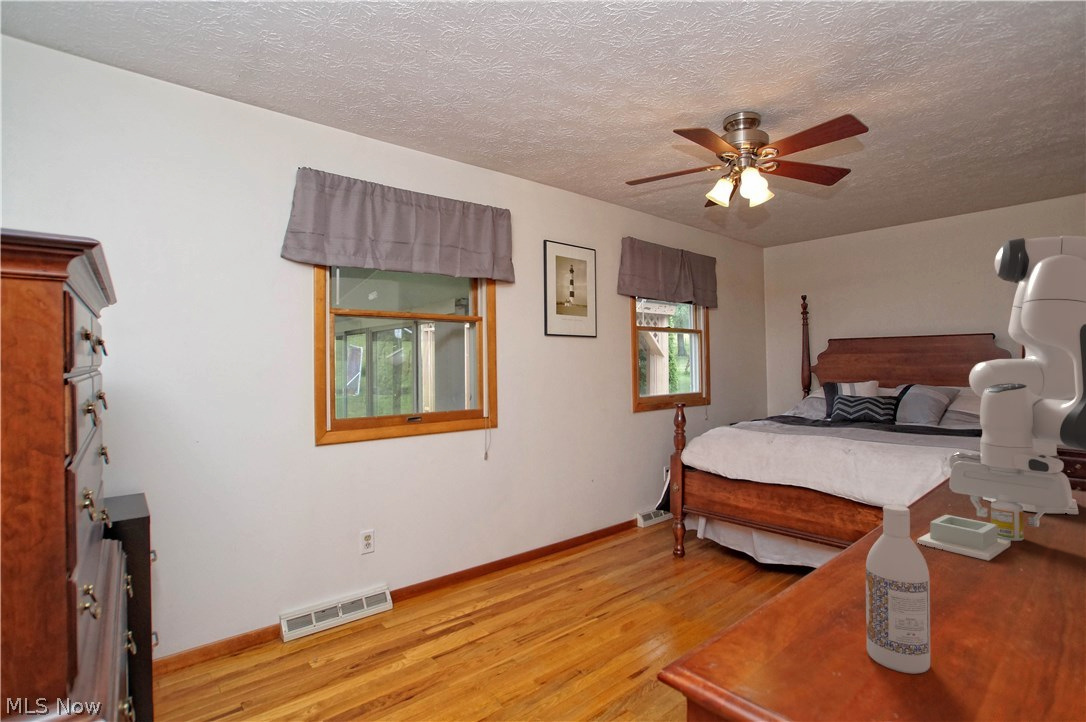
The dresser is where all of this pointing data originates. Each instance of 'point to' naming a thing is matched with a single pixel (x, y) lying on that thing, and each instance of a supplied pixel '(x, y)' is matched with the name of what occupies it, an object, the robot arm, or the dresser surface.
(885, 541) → the bath foam
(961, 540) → the caddy
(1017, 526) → the supplement bottle
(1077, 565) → the dresser surface
